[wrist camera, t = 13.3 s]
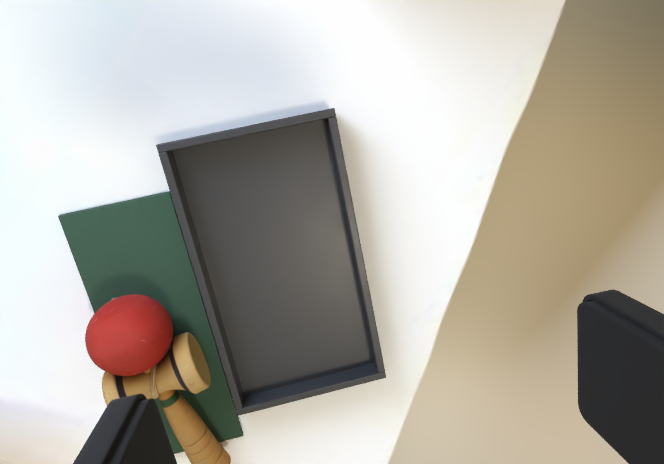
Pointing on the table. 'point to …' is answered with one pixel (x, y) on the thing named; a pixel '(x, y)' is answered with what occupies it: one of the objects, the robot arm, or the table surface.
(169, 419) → the kendama
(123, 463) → the robot arm
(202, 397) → the mat
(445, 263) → the table surface
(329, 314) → the dark grey flat tray
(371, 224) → the table surface
